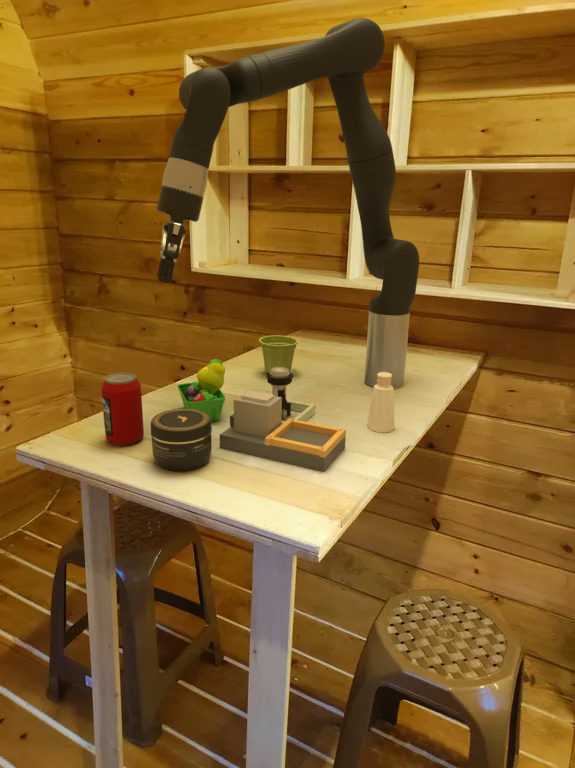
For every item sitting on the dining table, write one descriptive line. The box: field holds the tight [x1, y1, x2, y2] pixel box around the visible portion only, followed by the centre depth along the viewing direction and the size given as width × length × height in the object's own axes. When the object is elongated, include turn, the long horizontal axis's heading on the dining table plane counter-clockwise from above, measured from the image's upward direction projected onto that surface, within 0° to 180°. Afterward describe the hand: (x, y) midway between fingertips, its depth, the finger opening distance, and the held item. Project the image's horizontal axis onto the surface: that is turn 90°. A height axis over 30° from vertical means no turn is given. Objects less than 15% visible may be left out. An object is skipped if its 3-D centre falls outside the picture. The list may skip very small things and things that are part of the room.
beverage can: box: [100, 372, 145, 446], centre depth 105 cm, size 7×7×12 cm
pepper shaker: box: [366, 372, 396, 434], centre depth 112 cm, size 5×5×11 cm
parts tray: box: [281, 399, 316, 423], centre depth 117 cm, size 12×12×2 cm
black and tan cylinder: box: [265, 367, 294, 419], centre depth 116 cm, size 7×5×10 cm
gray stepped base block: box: [219, 390, 347, 472], centre depth 103 cm, size 10×20×9 cm, turn 65°
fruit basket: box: [176, 358, 226, 423], centre depth 117 cm, size 11×9×11 cm
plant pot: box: [258, 335, 299, 374], centre depth 142 cm, size 9×9×9 cm
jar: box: [150, 408, 213, 473], centre depth 98 cm, size 10×10×8 cm
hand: (163, 279), depth 107 cm, fingers open, 8 cm apart
